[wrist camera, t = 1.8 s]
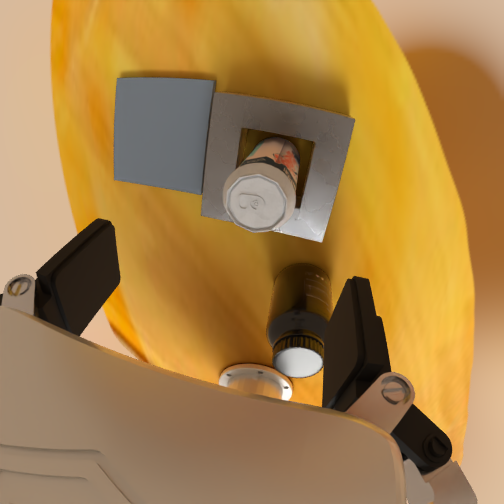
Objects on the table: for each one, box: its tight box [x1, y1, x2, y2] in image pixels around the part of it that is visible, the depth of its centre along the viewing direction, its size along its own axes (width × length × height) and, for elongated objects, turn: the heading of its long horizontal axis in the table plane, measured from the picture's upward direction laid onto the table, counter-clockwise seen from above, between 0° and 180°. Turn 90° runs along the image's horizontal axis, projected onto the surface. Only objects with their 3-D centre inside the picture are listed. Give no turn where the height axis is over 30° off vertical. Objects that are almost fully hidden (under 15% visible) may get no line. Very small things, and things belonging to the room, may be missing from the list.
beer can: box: [223, 137, 300, 233], centre depth 23 cm, size 5×5×12 cm
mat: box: [114, 77, 216, 195], centre depth 28 cm, size 12×11×1 cm
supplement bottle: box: [266, 263, 333, 378], centre depth 30 cm, size 7×7×12 cm
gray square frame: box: [201, 92, 355, 242], centre depth 27 cm, size 12×12×4 cm
